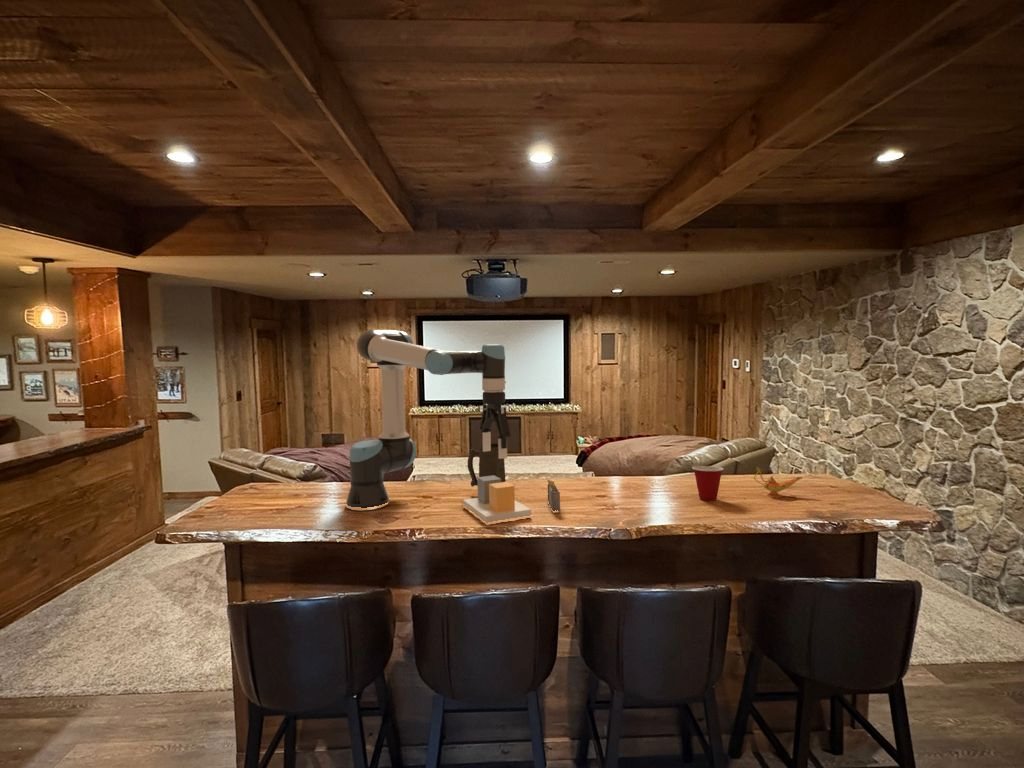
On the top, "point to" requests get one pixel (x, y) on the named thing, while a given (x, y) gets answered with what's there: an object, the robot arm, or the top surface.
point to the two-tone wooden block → (501, 497)
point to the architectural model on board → (553, 496)
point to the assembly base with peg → (483, 508)
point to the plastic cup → (708, 481)
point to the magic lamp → (776, 485)
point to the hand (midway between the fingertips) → (494, 454)
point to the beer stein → (487, 464)
